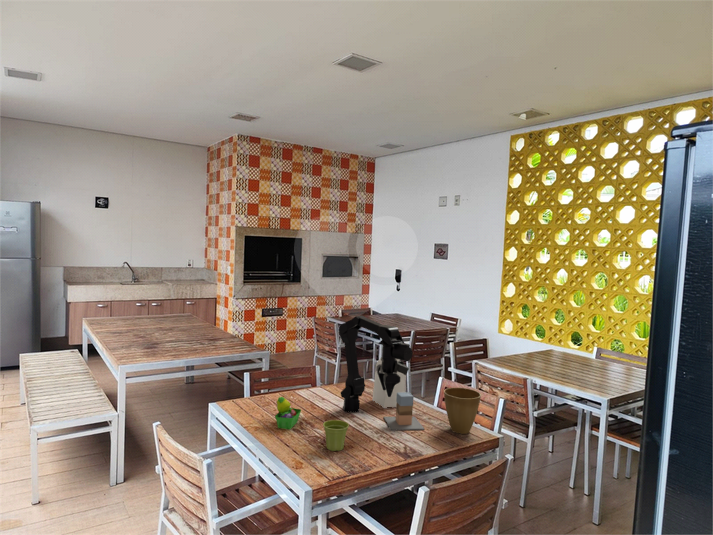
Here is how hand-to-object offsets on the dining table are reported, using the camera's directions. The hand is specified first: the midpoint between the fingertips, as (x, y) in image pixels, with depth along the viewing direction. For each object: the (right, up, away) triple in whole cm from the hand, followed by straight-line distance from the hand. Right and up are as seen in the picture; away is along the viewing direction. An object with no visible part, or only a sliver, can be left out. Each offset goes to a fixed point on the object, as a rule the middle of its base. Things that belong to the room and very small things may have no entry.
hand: (386, 393), depth 199 cm
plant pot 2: (+30, -15, -2) cm, 34 cm away
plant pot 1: (-21, -13, -26) cm, 36 cm away
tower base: (+7, -13, +2) cm, 15 cm away
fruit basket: (-41, -11, -6) cm, 43 cm away
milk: (+3, -12, +28) cm, 31 cm away
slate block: (+8, -5, +2) cm, 9 cm away
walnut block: (+7, -9, +2) cm, 12 cm away
